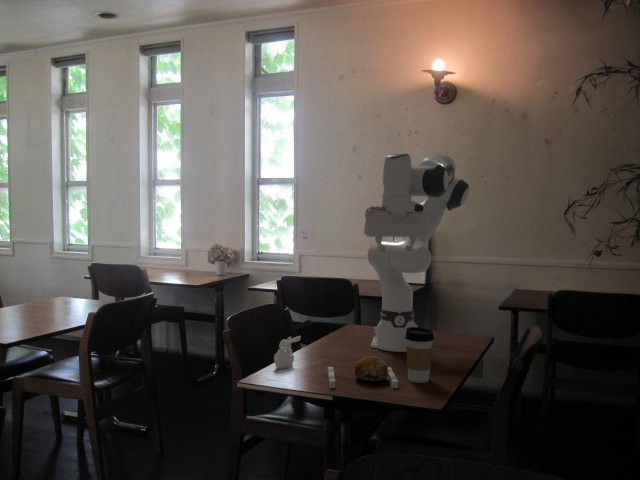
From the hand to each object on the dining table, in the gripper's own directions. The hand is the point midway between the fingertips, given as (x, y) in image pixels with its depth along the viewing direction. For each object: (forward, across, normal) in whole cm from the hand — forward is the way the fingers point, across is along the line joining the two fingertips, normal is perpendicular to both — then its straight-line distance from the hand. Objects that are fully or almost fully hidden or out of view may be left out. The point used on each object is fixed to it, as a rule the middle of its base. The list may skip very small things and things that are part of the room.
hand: (395, 251), depth 177 cm
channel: (+37, -14, -7) cm, 40 cm away
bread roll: (+38, -12, -8) cm, 40 cm away
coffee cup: (+37, +3, -11) cm, 39 cm away
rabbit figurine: (+38, -30, +14) cm, 50 cm away
